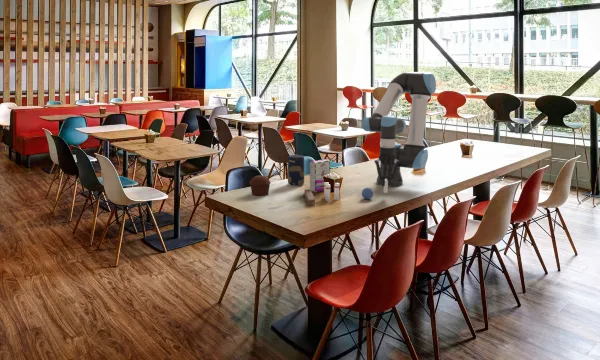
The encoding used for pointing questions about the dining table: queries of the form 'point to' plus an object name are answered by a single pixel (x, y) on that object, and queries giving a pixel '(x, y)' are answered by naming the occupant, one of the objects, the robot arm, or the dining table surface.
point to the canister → (296, 170)
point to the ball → (367, 193)
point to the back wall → (309, 197)
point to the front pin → (336, 191)
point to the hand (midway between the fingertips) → (385, 192)
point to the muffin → (260, 185)
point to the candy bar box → (318, 174)
